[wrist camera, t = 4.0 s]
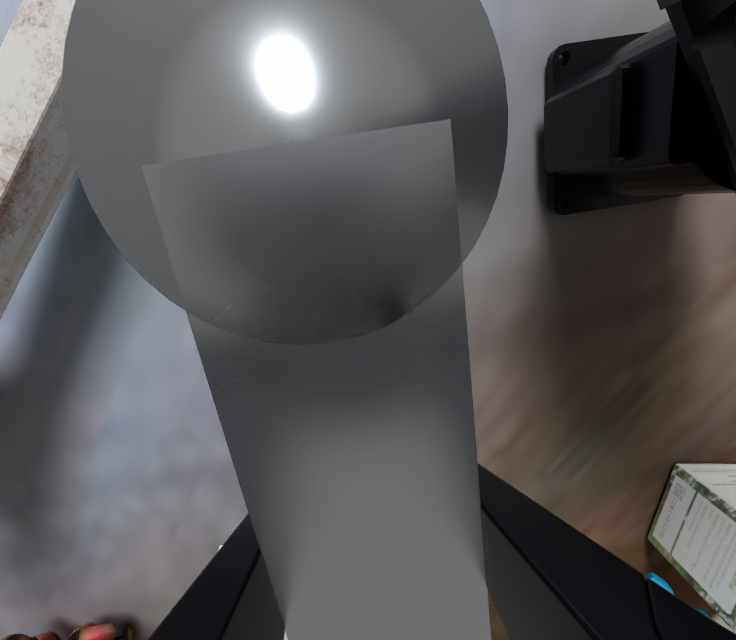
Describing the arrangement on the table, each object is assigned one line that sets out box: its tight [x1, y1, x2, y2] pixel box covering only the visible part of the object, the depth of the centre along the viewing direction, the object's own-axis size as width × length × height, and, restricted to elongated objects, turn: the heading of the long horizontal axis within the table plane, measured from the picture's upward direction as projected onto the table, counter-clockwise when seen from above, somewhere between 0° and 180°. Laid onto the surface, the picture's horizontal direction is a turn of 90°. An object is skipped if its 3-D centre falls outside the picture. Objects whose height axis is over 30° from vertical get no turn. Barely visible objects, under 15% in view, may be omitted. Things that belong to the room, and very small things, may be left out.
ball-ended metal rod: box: [62, 0, 508, 640], centre depth 8 cm, size 5×18×3 cm, turn 9°
